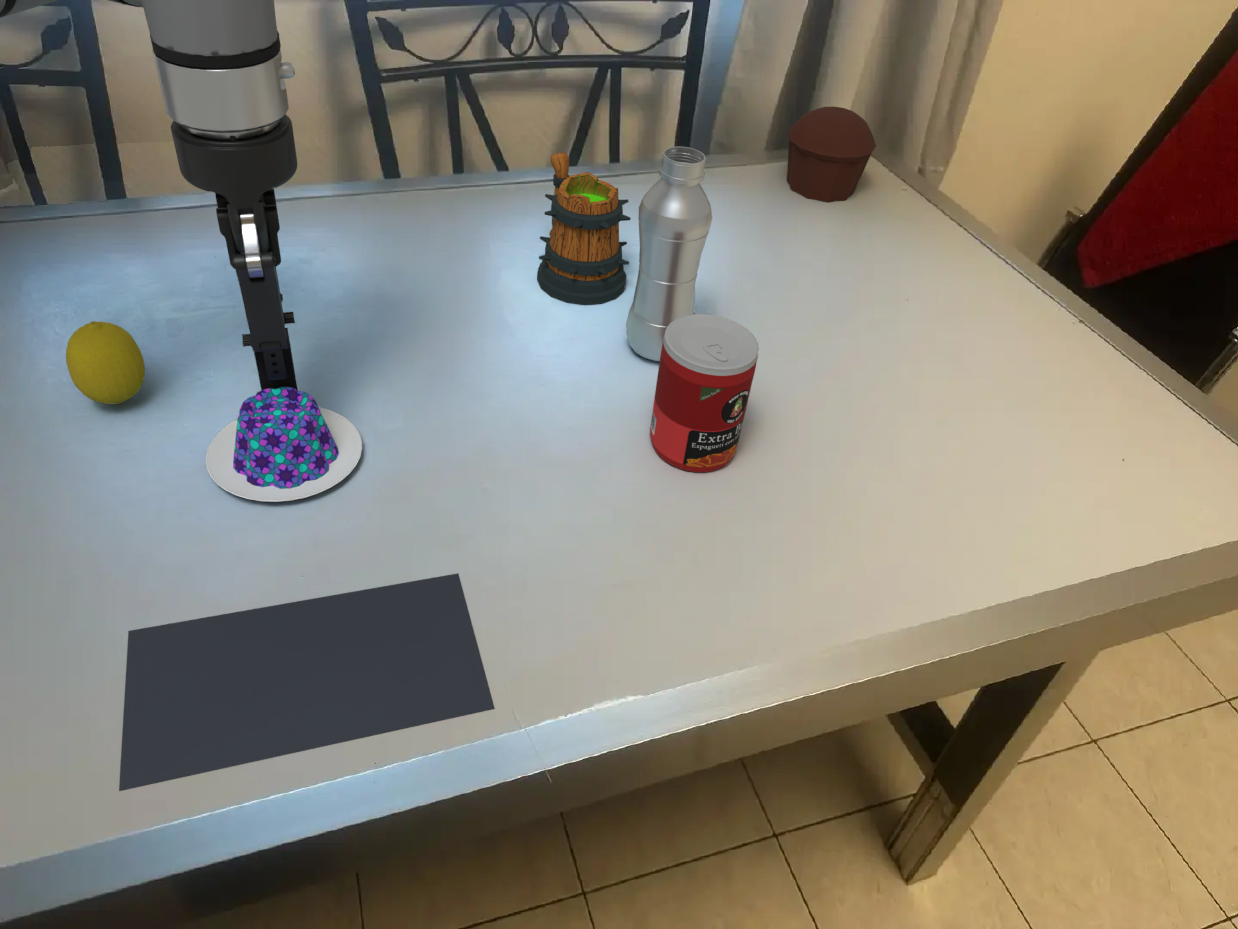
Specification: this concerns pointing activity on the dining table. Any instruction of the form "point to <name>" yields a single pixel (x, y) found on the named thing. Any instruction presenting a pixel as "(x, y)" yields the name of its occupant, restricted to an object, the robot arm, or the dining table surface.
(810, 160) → the muffin
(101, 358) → the lemon
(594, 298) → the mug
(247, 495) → the pudding
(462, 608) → the dark gray placemat
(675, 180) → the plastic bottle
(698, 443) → the canned food
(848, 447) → the dining table surface
